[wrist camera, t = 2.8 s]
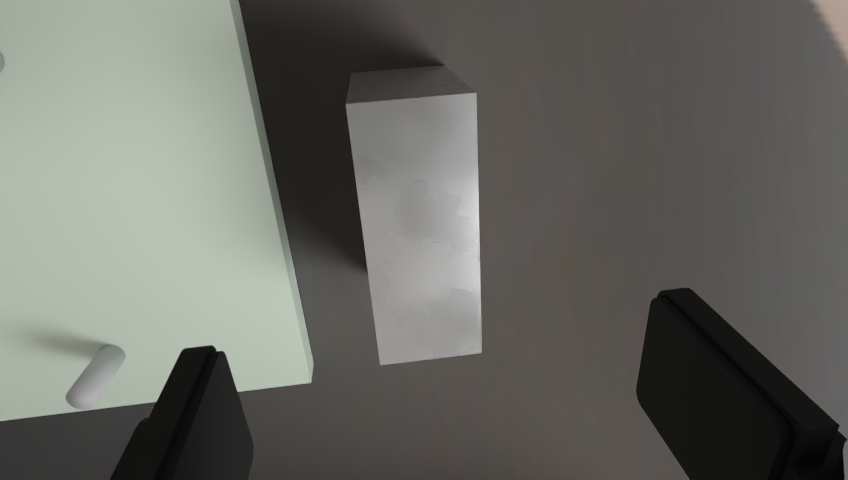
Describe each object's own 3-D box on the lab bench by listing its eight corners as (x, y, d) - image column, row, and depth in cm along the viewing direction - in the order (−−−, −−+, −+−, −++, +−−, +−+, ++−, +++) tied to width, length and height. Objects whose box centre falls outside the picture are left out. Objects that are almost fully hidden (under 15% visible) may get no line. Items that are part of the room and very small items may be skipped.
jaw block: (444, 64, 22) (476, 92, 16) (453, 267, 26) (481, 352, 20) (351, 72, 22) (345, 103, 15) (376, 275, 26) (380, 365, 20)
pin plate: (226, -57, 19) (189, -71, 15) (313, 364, 28) (304, 426, 24) (-295, -23, 18) (-489, -28, 14) (-32, 405, 27) (-103, 479, 23)
